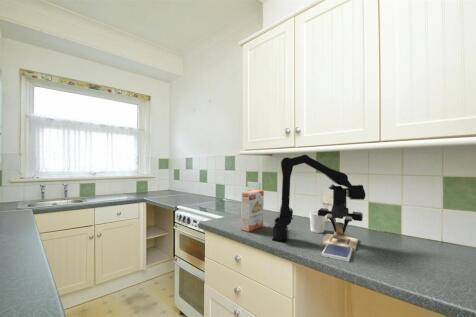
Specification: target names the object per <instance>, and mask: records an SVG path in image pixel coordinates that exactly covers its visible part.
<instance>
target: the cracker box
mask: <svg viewBox="0 0 476 317" xmlns="http://www.w3.org/2000/svg"><path fill="white" fill-rule="evenodd" d="M264 193H265V191H264V190H261V189H254V190H249V191H243V192H242V191H241V205H240V206H241V209H240V210H241V212H240V213H241V216H240V220H241V222H240V223H241V224H240V225H241V226H240V227H241V228H240V230H241V231H244V232H248V233H249V232H252V231H255V230H257V229H259V228H262V227H264V199H265V198H264V196H265V195H264Z"/></svg>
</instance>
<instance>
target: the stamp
mask: <svg viewBox="0 0 476 317" xmlns="http://www.w3.org/2000/svg"><path fill="white" fill-rule="evenodd" d="M343 228H344V222H341V221H336V232H335V231H334V232H333V234H332V235H333V238H335V239H341V240H345V238H346V237H347V233H346V232H345V233H343Z"/></svg>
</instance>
